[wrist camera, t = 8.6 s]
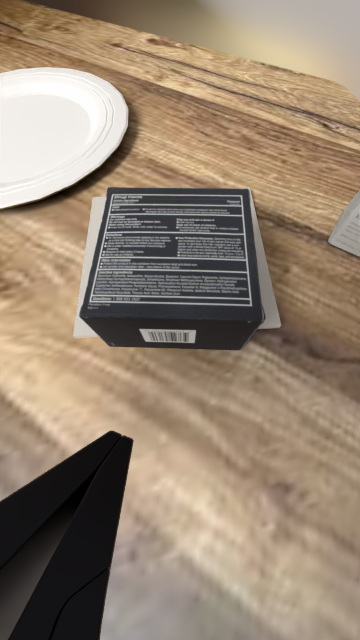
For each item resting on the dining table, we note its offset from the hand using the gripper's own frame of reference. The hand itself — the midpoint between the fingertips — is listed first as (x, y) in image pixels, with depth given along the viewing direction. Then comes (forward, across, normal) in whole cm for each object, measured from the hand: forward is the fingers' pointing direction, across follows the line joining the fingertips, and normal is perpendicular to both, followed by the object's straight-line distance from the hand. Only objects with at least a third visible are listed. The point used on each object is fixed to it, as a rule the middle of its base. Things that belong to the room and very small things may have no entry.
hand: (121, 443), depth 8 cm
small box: (+8, +1, 0) cm, 9 cm away
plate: (+26, +30, -12) cm, 42 cm away
